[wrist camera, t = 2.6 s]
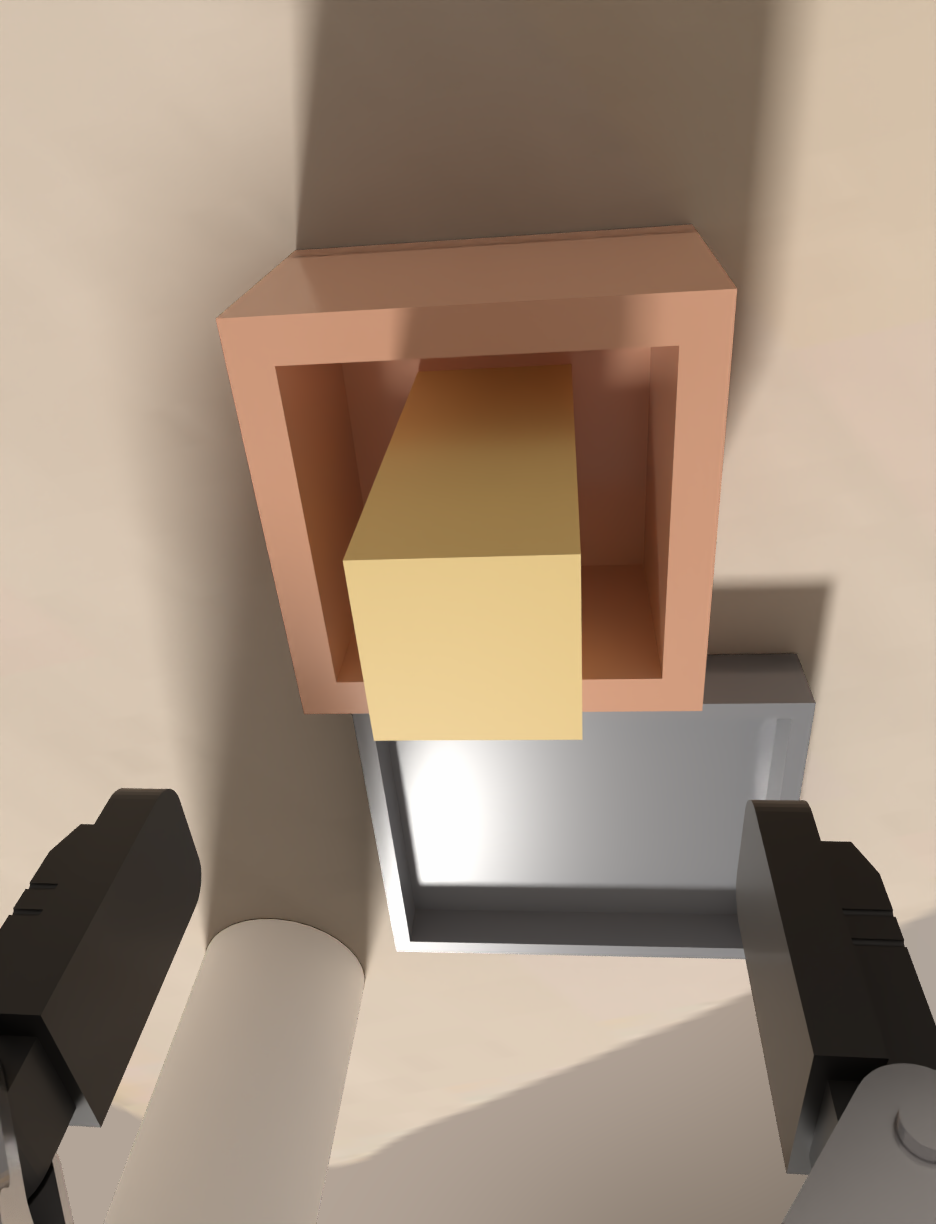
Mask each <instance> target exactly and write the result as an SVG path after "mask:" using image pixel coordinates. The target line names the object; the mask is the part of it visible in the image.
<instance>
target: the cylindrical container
mask: <svg viewBox="0 0 936 1224" xmlns="http://www.w3.org/2000/svg"><path fill="white" fill-rule="evenodd" d="M364 978H365V977H364V973H363V969H362V967H361V965H360V963H359V961H358V959H357V958H356V956H355V955H354V954H353V953H352V952H351V951H350V950H349V949H348V948H347V947H346V946H345V945H344V944H342V943H341V942H340V941H339V940H337V939H335V938H334V937H332V936H330V935H329V934H327V933H325V932H323V931H320V930H318V929H316V928H313V927H311V926H308V925H304V924H300V923H297V922H293V921H285V920H278V919H257V920H250V921H244V922H241V923H237V924H234V925H231V926H229V927H228V928H226V929H224V930H222V931H221V932H220V933H218V934H217V935H216V936H215V937H214V938H213V939H212V941H211V942H210V944H209V945H208V948H207V950H206V953H205V955H204V958H203V961H202V963H201V966H200V969H199V971H198V974H197V977H196V979H195V982H194V985H193V987H192V990H191V993H190V995H189V998H188V1001H187V1003H186V1006H185V1008H184V1011H183V1014H182V1016H181V1019H180V1022H179V1024H178V1027H177V1030H176V1032H175V1035H174V1038H173V1040H172V1043H171V1046H170V1048H169V1051H168V1053H167V1056H166V1059H165V1061H164V1064H163V1067H162V1069H161V1072H160V1075H159V1077H158V1080H157V1083H156V1085H155V1088H154V1091H153V1093H152V1096H151V1099H150V1101H149V1104H148V1106H147V1109H146V1112H145V1114H144V1117H143V1120H142V1122H141V1125H140V1128H139V1131H138V1133H137V1136H136V1138H135V1141H134V1144H133V1146H132V1149H131V1151H130V1155H129V1157H128V1160H127V1162H126V1165H125V1167H124V1170H123V1173H122V1175H121V1178H120V1181H119V1183H118V1186H117V1189H116V1191H115V1194H114V1197H113V1199H112V1202H111V1204H110V1207H109V1210H108V1212H107V1215H106V1218H105V1220H104V1223H103V1224H317V1219H318V1214H319V1209H320V1204H321V1199H322V1193H323V1189H324V1184H325V1178H326V1173H327V1169H328V1164H329V1159H330V1154H331V1149H332V1144H333V1139H334V1134H335V1129H336V1124H337V1119H338V1114H339V1109H340V1104H341V1099H342V1094H343V1089H344V1084H345V1079H346V1074H347V1069H348V1064H349V1059H350V1054H351V1049H352V1044H353V1039H354V1034H355V1029H356V1024H357V1019H358V1014H359V1009H360V1004H361V999H362V994H363V989H364Z"/></svg>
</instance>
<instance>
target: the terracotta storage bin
mask: <svg viewBox="0 0 936 1224" xmlns="http://www.w3.org/2000/svg"><path fill="white" fill-rule="evenodd" d="M736 298H737V288H736V286H735V285H734V283H733V282H732V280H731V279H730V278H729V276H728V275H727V273H726V272H725V270H724V269H723V268H722V266H721V265H720V263H719V262H718V260H717V259H716V258H715V256H714V255H713V253H712V252H711V250H710V249H709V248H708V246H707V245H706V243H705V242H704V240H703V239H702V238H701V236H700V235H699V233H698V232H697V230H696V229H695V228H694V226H693V225H692V224H690V225H675V226H660V227H644V228H629V229H614V230H598V231H583V232H568V233H552V234H537V235H522V236H507V237H491V238H476V239H461V240H445V241H430V242H415V243H399V244H384V245H369V246H354V247H338V248H323V249H308V250H295V251H294V252H293V253H292V254H291V255H289V256H288V257H287V258H286V259H285V260H284V261H282V262H281V263H280V264H279V265H278V266H277V267H275V268H274V269H273V270H272V271H271V272H270V273H268V274H267V275H266V276H265V277H264V278H263V279H261V280H260V281H259V282H258V283H257V284H256V285H254V286H253V287H252V288H251V289H250V290H249V291H247V292H246V293H245V294H244V295H243V296H242V297H240V298H239V299H238V300H237V301H236V302H235V303H233V304H232V305H231V306H230V307H229V308H228V309H226V310H225V311H224V312H223V313H222V314H221V315H219V316H218V317H217V318H216V322H217V327H218V331H219V336H220V340H221V344H222V349H223V353H224V358H225V362H226V367H227V371H228V376H229V380H230V385H231V389H232V394H233V398H234V403H235V407H236V412H237V416H238V421H239V425H240V429H241V434H242V438H243V443H244V447H245V452H246V456H247V461H248V465H249V470H250V474H251V479H252V483H253V488H254V492H255V497H256V501H257V506H258V510H259V514H260V519H261V523H262V528H263V532H264V537H265V541H266V546H267V550H268V555H269V559H270V564H271V568H272V573H273V577H274V582H275V586H276V591H277V595H278V599H279V604H280V608H281V613H282V617H283V622H284V626H285V631H286V635H287V640H288V644H289V649H290V653H291V658H292V662H293V667H294V671H295V675H296V680H297V684H298V689H299V693H300V698H301V702H302V707H303V711H304V714H365V713H369V709H368V703H367V698H366V692H365V686H364V680H363V675H362V669H361V663H360V657H359V651H358V646H357V640H356V634H355V628H354V623H353V617H352V611H351V605H350V600H349V594H348V588H347V582H346V576H345V571H344V565H343V559H344V556H345V554H346V551H347V549H348V546H349V544H350V541H351V539H352V536H353V534H354V531H355V529H356V526H357V524H358V521H359V519H360V516H361V514H362V511H363V508H364V506H365V503H366V501H367V498H368V496H369V493H370V491H371V488H372V486H373V483H374V481H375V478H376V476H377V473H378V471H379V468H380V466H381V463H382V461H383V458H384V456H385V453H386V451H387V448H388V446H389V443H390V441H391V438H392V436H393V433H394V431H395V428H396V426H397V423H398V421H399V418H400V416H401V413H402V411H403V408H404V406H405V403H406V401H407V398H408V395H409V393H410V390H411V388H412V385H413V383H414V380H415V378H416V375H417V373H418V372H422V371H442V370H462V369H482V368H503V367H523V366H543V365H563V364H571V366H572V386H573V406H574V426H575V447H576V467H577V487H578V508H579V528H580V548H581V631H582V712H631V711H702V707H703V695H704V683H705V671H706V659H707V647H708V635H709V623H710V611H711V599H712V587H713V575H714V563H715V551H716V539H717V527H718V515H719V503H720V491H721V479H722V467H723V455H724V443H725V430H726V418H727V406H728V394H729V382H730V370H731V358H732V346H733V334H734V322H735V310H736Z"/></svg>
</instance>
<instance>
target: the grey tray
mask: <svg viewBox="0 0 936 1224" xmlns="http://www.w3.org/2000/svg"><path fill="white" fill-rule="evenodd" d="M815 704H816V703H815V700H814V698H813V695H812V692H811V690H810V687H809V685H808V682H807V679H806V677H805V674H804V672H803V669H802V666H801V664H800V661H799V659H798V656H797V654H741V655H707V659H706V671H705V683H704V695H703V707H702V711H631V712H582V740H409V741H374V738H373V732H372V726H371V721H370V715H369V713H365V714H352V716H353V722H354V727H355V732H356V738H357V743H358V749H359V754H360V759H361V765H362V770H363V775H364V781H365V786H366V791H367V797H368V802H369V807H370V813H371V818H372V824H373V829H374V834H375V840H376V845H377V850H378V856H379V861H380V866H381V872H382V877H383V883H384V888H385V893H386V899H387V904H388V909H389V915H390V920H391V925H392V931H393V936H394V941H395V947H396V951H398V952H444V953H490V954H536V955H582V956H628V957H674V958H720V959H745V954H744V948H743V943H742V938H741V933H740V927H739V922H738V914H737V902H736V878H737V869H738V861H739V854H740V846H741V838H742V830H743V823H744V815H745V808H746V804H747V801H748V800H799V798H800V793H801V787H802V781H803V775H804V769H805V763H806V757H807V751H808V745H809V739H810V733H811V728H812V722H813V716H814V710H815Z"/></svg>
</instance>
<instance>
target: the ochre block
mask: <svg viewBox="0 0 936 1224" xmlns="http://www.w3.org/2000/svg"><path fill="white" fill-rule="evenodd" d="M343 565H344V571H345V576H346V582H347V588H348V594H349V600H350V605H351V611H352V617H353V623H354V628H355V634H356V640H357V646H358V651H359V657H360V663H361V669H362V675H363V680H364V686H365V692H366V698H367V703H368V709H369V715H370V721H371V726H372V732H373V738H374V741H409V740H582V631H581V548H580V528H579V508H578V487H577V467H576V447H575V426H574V406H573V386H572V366H571V364H563V365H543V366H523V367H503V368H482V369H462V370H442V371H422V372H418V373H417V375H416V378H415V380H414V383H413V385H412V388H411V390H410V393H409V395H408V398H407V401H406V403H405V406H404V408H403V411H402V413H401V416H400V418H399V421H398V423H397V426H396V428H395V431H394V433H393V436H392V438H391V441H390V443H389V446H388V448H387V451H386V453H385V456H384V458H383V461H382V463H381V466H380V468H379V471H378V473H377V476H376V478H375V481H374V483H373V486H372V488H371V491H370V493H369V496H368V498H367V501H366V503H365V506H364V508H363V511H362V514H361V516H360V519H359V521H358V524H357V526H356V529H355V531H354V534H353V536H352V539H351V541H350V544H349V546H348V549H347V551H346V554H345V556H344V559H343Z"/></svg>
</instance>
